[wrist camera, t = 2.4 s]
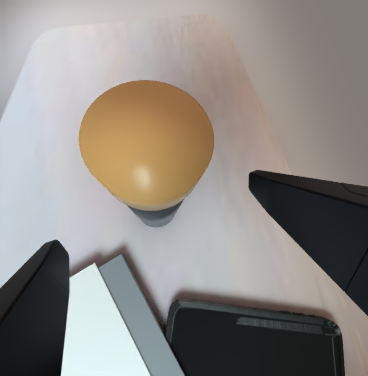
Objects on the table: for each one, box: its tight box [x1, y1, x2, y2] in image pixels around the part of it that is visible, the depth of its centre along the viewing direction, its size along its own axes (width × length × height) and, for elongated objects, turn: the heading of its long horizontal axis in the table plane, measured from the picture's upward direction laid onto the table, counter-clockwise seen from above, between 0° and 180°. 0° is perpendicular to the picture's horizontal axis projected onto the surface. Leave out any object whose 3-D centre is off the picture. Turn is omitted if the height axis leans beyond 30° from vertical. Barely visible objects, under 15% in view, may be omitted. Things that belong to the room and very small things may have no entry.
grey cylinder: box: [79, 80, 214, 227], centre depth 12 cm, size 4×4×13 cm
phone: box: [165, 299, 345, 376], centre depth 15 cm, size 8×1×15 cm
